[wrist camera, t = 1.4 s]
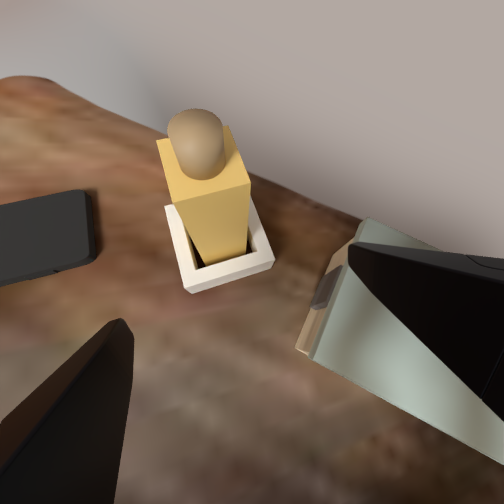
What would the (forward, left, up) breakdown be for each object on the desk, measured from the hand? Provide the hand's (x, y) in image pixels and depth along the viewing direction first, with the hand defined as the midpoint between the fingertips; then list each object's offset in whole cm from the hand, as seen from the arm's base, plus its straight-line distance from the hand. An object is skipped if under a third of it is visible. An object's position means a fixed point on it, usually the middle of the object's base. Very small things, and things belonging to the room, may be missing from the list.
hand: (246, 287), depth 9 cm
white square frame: (+7, -3, -13) cm, 15 cm away
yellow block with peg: (+6, -3, -13) cm, 15 cm away
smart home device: (+22, +14, -14) cm, 29 cm away
